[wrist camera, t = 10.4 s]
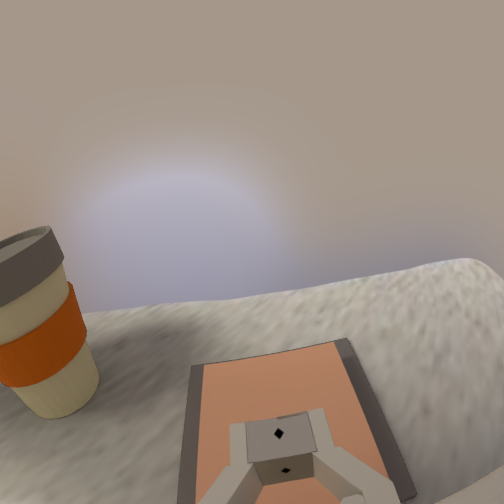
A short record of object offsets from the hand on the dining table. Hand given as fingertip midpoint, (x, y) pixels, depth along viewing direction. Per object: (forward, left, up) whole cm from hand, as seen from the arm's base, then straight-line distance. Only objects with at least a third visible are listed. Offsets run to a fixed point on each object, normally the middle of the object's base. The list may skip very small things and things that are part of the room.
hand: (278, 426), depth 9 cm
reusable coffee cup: (-22, -12, -10) cm, 27 cm away
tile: (+2, -1, -8) cm, 9 cm away
